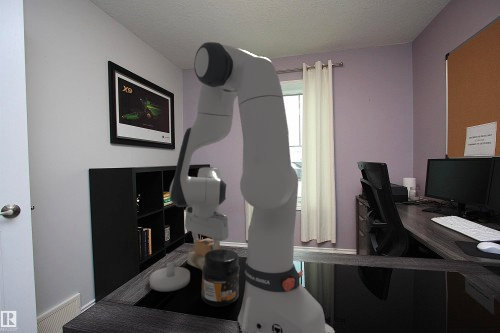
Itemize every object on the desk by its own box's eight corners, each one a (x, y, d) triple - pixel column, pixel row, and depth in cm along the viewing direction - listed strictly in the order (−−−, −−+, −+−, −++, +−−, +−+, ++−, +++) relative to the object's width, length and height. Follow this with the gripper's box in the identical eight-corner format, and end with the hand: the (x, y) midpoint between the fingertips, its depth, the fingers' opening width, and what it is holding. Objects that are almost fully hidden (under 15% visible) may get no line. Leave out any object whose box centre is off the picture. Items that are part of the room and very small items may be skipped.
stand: (225, 262, 90) (226, 240, 90) (205, 271, 82) (206, 247, 82) (207, 255, 96) (208, 235, 96) (187, 263, 88) (188, 240, 88)
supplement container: (202, 311, 60) (204, 264, 60) (199, 289, 70) (201, 249, 70) (242, 305, 63) (244, 260, 63) (234, 285, 73) (235, 247, 73)
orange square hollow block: (219, 252, 89) (219, 241, 89) (206, 257, 84) (206, 246, 84) (207, 248, 93) (207, 238, 93) (194, 252, 88) (194, 241, 88)
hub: (197, 280, 75) (198, 263, 75) (163, 296, 66) (164, 276, 66) (175, 269, 83) (175, 253, 83) (141, 282, 73) (142, 264, 73)
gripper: (233, 213, 85) (231, 251, 85) (195, 205, 97) (193, 238, 97) (221, 216, 80) (219, 256, 80) (183, 207, 92) (181, 242, 92)
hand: (205, 246), depth 89 cm, fingers open, 8 cm apart
